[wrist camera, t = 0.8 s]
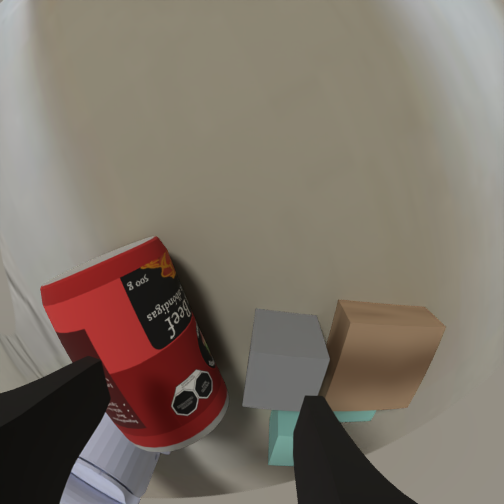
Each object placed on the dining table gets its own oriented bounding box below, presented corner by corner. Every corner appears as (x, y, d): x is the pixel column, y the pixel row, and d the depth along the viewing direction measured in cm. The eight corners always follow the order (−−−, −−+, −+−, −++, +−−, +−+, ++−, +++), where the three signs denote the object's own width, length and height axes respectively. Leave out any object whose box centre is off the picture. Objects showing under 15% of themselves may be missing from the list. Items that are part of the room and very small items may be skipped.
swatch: (369, 417, 20) (370, 420, 19) (328, 418, 20) (328, 422, 20) (386, 385, 19) (387, 388, 18) (341, 386, 19) (342, 389, 19)
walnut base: (393, 380, 19) (407, 407, 16) (314, 379, 19) (320, 411, 16) (423, 305, 17) (446, 327, 14) (337, 297, 18) (350, 322, 14)
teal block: (315, 421, 20) (321, 466, 15) (269, 419, 20) (268, 464, 15) (328, 389, 19) (338, 436, 14) (277, 386, 19) (278, 435, 14)
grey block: (304, 363, 19) (311, 412, 14) (248, 357, 19) (242, 406, 14) (316, 315, 18) (330, 359, 13) (255, 308, 18) (250, 351, 13)
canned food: (164, 230, 18) (219, 365, 20) (64, 271, 16) (129, 395, 19) (158, 240, 11) (244, 429, 13) (13, 302, 9) (122, 463, 11)
